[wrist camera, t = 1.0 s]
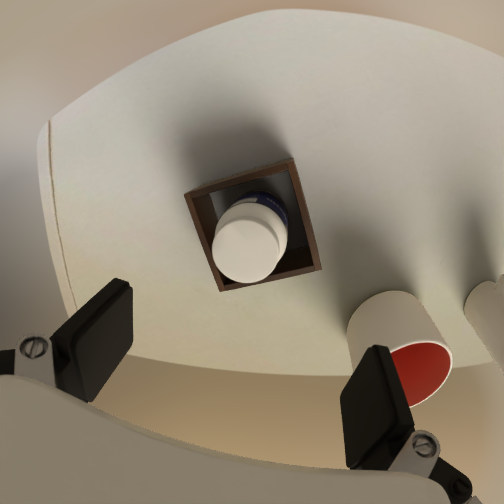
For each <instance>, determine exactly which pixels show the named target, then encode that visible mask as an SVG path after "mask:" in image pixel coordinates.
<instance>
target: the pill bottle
mask: <svg viewBox="0 0 504 504" xmlns="http://www.w3.org/2000/svg"><path fill="white" fill-rule="evenodd" d="M287 235H288V213H287V209H286V207H285V205H284V203H283V202H282V201H281V200H280V199H279V198H278V197H277V196H276V195H274V194H273V193H270V192H268V191H263V190H255V191H250V192H247V193H245V194H244V195H242V196H241V197H239V198H238V199H237V200H236V201H235V202H234V203H233V204H232V205H231V207H230V208H229V209H228V210H227V211H226V212H225V213H224V214H223V215H222V216H221V218H220V220H219V221H218V224H217V226H216V230H215V237H214V240H213V244H212V255H213V259H214V262H215V264H216V266H217V267H218V269H219V270H220V271H221V272H222V273H223V274H224V275H225V276H227V277H228V278H230V279H231V280H234V281H237V282H241V283H253V282H257V281H260V280H262V279H264V278H266V277H267V276H268V275H269V274H270V273H271V272H272V271H273V270H274V268H275V266H276V264H277V262H278V261H279V260H280V259H281V257H282V256H283V254H284V252H285V249H286V245H287Z"/></svg>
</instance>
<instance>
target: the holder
mask: <svg viewBox="0 0 504 504" xmlns="http://www.w3.org/2000/svg"><path fill="white" fill-rule="evenodd" d="M287 170H289V173H290V177H291V180H292V184H293V187H294V191H295V194H296V198H297V202H298V205H299V209H300V213H301V217H302V220H303V224H304V228H305V232H306V236H307V240H308V244H309V246H307V247H303V248H299V249H295V250H291V251H287V252H284V254H283V256H282V257H281V259H280V260H279V261H278V262H277V264H276V266H275V268H274V270H273V271H272V272H271V273H270V274H269V275H268V276H267V277H266V278H264V279H262V280H260V281H257V282H253V283H241V282H237V281H234V280H231V279H230V278H228V277H227V276H225V275H224V274H223V273H222V272H221V271H220V270H219V269H218V267H217V266H216V264H215V262H214V259H213V255H212V244H213V240H214V237H215V230H216V226H217V224H218V218H217V216H216V213H215V210H214V207H213V204H212V201H211V198H210V195H209V193H211V192H214V191H217V190H221V189H224V188H227V187H230V186H234V185H237V184H240V183H244V182H247V181H251V180H254V179H258V178H261V177H265V176H268V175H272V174H276V173H279V172H283V171H287ZM184 197H185V199H186V202H187V205H188V208H189V211H190V214H191V216H192V219H193V222H194V225H195V228H196V230H197V233H198V236H199V239H200V241H201V244H202V247H203V249H204V252H205V255H206V257H207V260H208V263H209V265H210V268H211V271H212V273H213V276H214V278H215V281H216V284H217V286H218V289H219V291H220V292H222V291H225V290H226V291H228V290H232V289H237V288H242V287H247V286H251V285H256V284H261V283H265V282H270V281H274V280H279V279H283V278H288V277H292V276H297V275H301V274H306V273H310V272H314V271H319V270H322V268H321V263H320V258H319V253H318V249H317V245H316V240H315V236H314V232H313V228H312V224H311V220H310V216H309V213H308V209H307V205H306V201H305V197H304V194H303V190H302V186H301V183H300V179H299V176H298V172H297V169H296V165H295V162H294V158H290V159H287V160H283V161H279V162H276V163H272V164H268V165H265V166H261V167H258V168H254V169H251V170H248V171H244V172H241V173H238V174H234V175H231V176H228V177H225V178H221V179H218V180H215V181H212V182H209V183H206V184H203V185H200V186H198V187H196V188H194V189H193V190H191V191H189V192H187V193H185V194H184Z"/></svg>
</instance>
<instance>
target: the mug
mask: <svg viewBox="0 0 504 504" xmlns="http://www.w3.org/2000/svg"><path fill="white" fill-rule="evenodd" d="M464 314H465V317H466V319H467V320H468V321H469V323H470V324H471V326H472V327H473V329H474V330H475V332H476V333H477V335H478V336H479V338H480V339H481V341H482V342H483V344H484V345H485V347H486V348H487V350H488V351H489V353H490V354H491V356H492V358H493V359H494V361H495V362H496V364H497V366H498V367H499V369H500V370H501V372H502V373H503V375H504V274H502V275H500V277H499V280H498V284H495V283H494V282H492V281H485V282H482V283H480V284H479V285H477V286H476V287H475V288H474V289H473V290H472V291H471V293H470V294H469V296H468V298H467V300H466V302H465V307H464Z"/></svg>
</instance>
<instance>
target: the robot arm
mask: <svg viewBox="0 0 504 504" xmlns="http://www.w3.org/2000/svg"><path fill="white" fill-rule="evenodd" d="M132 343H133V289H132V287H130V284H129V282H127V281H124V280H121V279H118V278H114V279H113V280H112V281H110V282H109V283H108V284H107V285H106V286H105V287H104V288H102V289H101V290H100V291H99V292H98V293H97V294H96V295H95V296H93V297H92V298H91V299H90V300H89V301H88V302H87V303H86V304H85V305H84V306H82V307H81V308H80V309H79V310H78V311H77V312H76V313H75V314H74V315H73V316H72V317H71V318H69V319H68V320H67V321H66V322H65V323H64V324H63V325H62V326H61V327H60V328H59V329H58V330H57V331H56V332H55V333H54V334H53V335H52V336H51V337H50V338H48V337H47V336H45V335H44V334H41V333H31V334H27V335H25V336H23V337H22V338H20V339H19V341H18V342H17V344H16V349H12V350H2V351H0V504H482V503H481V502H480V501H479V499H478V498H477V497H476V496H473V497H472V496H471V495H472V484H471V481H470V480H469V478H468V477H467V476H466V475H464V474H463V473H461V472H460V471H458V470H457V469H456V468H454V467H453V466H451V465H450V464H449V463H447V462H446V461H444V460H443V459H441V458H440V457H439V454H440V444H439V441H438V440H437V438H436V437H435V436H434V435H433V434H432V433H430V432H428V431H425V430H417V431H415V428H414V425H415V424H414V421H413V417H412V414H411V411H410V408H409V405H408V402H407V399H406V396H405V393H404V390H403V387H402V384H401V381H400V378H399V375H398V372H397V369H396V367H395V364H394V361H393V359H392V356H391V353H390V351H389V348H388V347H387V346H382V345H376V344H374V345H373V346H372V347H368V348H367V350H366V351H365V353H364V355H363V357H362V359H361V360H360V362H359V364H358V366H357V367H356V369H355V371H354V373H353V374H352V376H351V378H350V379H349V381H348V383H347V384H346V386H345V387H344V389H343V391H342V393H341V396H340V404H341V414H342V422H343V433H344V443H345V454H346V465H347V467H348V468H350V470H346V469H329V468H315V467H305V466H297V465H289V464H281V463H275V462H269V461H263V460H257V459H252V458H247V457H242V456H237V455H232V454H228V453H224V452H220V451H216V450H212V449H208V448H205V447H200V446H197V445H194V444H190V443H187V442H184V441H181V440H178V439H174V438H171V437H168V436H165V435H162V434H160V433H157V432H154V431H151V430H148V429H146V428H143V427H141V426H138V425H135V424H133V423H130V422H128V421H126V420H123V419H121V418H119V417H116V416H114V415H112V414H110V413H107V412H105V411H103V410H101V409H98V408H96V407H94V406H92V405H90V404H88V402H92V401H93V400H94V399H95V398H96V396H97V395H98V393H99V392H100V390H101V389H102V387H103V386H104V384H105V383H106V382H107V380H108V379H109V377H110V376H111V374H112V373H113V371H114V370H115V369H116V367H117V366H118V364H119V363H120V362H121V360H122V359H123V357H124V356H125V354H126V353H127V352H128V350H129V349H130V347H131V346H132Z"/></svg>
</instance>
